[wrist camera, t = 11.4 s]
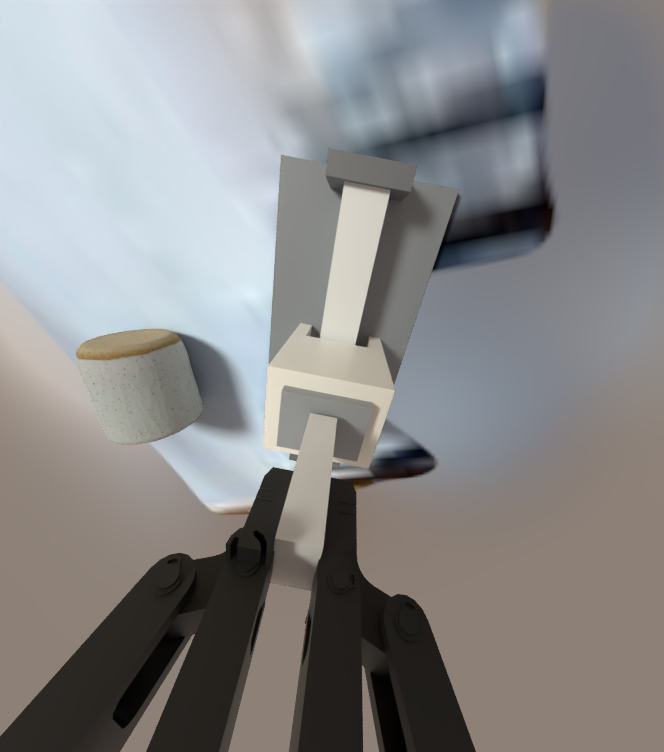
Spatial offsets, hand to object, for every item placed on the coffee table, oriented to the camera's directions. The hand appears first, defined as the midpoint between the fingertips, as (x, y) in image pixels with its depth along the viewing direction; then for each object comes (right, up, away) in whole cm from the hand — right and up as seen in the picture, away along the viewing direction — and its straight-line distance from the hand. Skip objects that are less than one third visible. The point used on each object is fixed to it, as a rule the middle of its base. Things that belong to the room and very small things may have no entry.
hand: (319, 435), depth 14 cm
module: (+1, +5, +9) cm, 10 cm away
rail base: (+1, +7, +8) cm, 11 cm away
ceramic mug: (-17, +4, +12) cm, 21 cm away
